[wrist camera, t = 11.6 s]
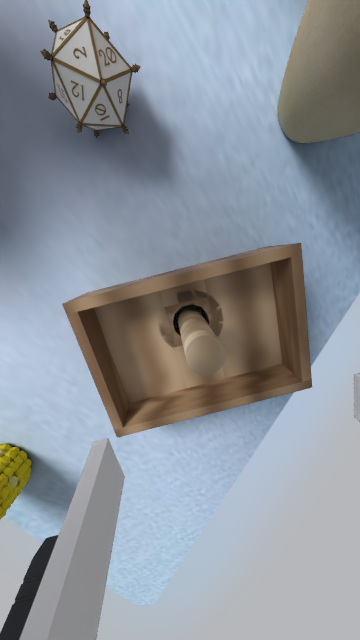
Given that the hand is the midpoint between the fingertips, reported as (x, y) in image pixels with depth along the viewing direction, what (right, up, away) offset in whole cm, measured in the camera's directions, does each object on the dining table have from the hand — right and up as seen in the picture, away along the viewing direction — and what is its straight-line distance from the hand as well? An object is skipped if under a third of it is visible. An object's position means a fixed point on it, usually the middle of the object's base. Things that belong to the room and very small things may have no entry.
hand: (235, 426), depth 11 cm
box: (-1, +4, +22) cm, 22 cm away
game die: (-12, +30, +14) cm, 35 cm away
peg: (-2, +6, +22) cm, 22 cm away
